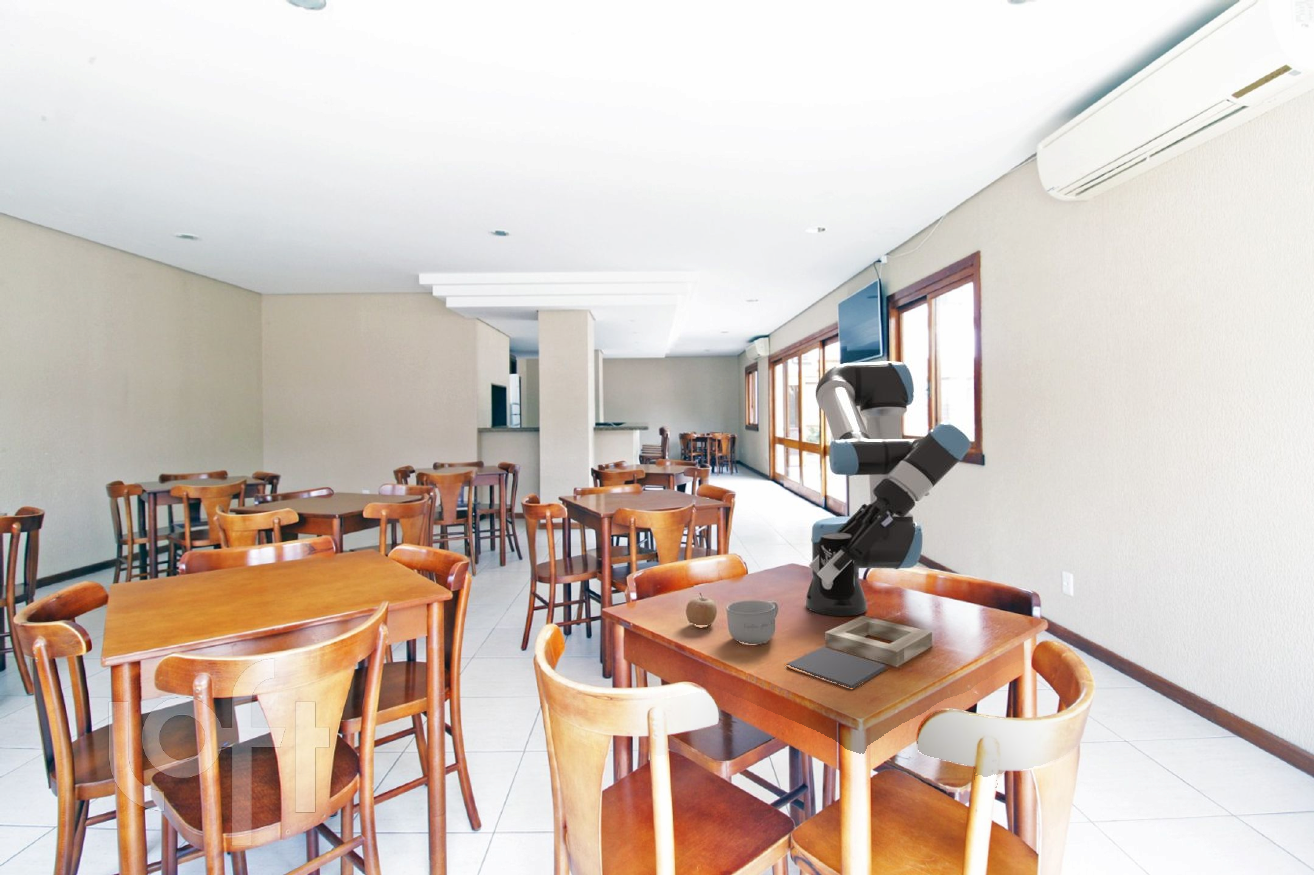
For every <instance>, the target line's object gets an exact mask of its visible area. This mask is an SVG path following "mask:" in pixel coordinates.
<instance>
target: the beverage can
mask: <svg viewBox="0 0 1314 875" xmlns="http://www.w3.org/2000/svg"><path fill="white" fill-rule="evenodd" d="M851 540H852V539H851V535H850V534H846V533H823V534H821V539H820V541H819V571H820V570H821V569H822V568H823V567H824V566H825V565H826V564H827V563H828V562H829V561H830V560H831V559H832V558H833V557H834V556H835V555H836V554H837V553H838V552H839V551H840V550H842V549H841V546H845V547H846V546H847V545H848V543H849V542H850V541H851ZM842 551H843V550H842ZM843 552H844V551H843ZM851 560H852V559H851ZM819 589H820V593H821V594H822V596H823V597H825V598H828V599H832V600H847V599H850V598H852V596H853V595H854V594H855V582H854V560H852V561H851V562H850V563H849V564H848V565H847V566H846V567H845V568H844V569H843V570H842V571H841V572H840V573H839V574H838V575H837V576H836V577H835V578H834V579H833V580H832V581H831V582H830V583H829V584H827V583H825V582H824V581H823V580H822V579H821V578H820V577H819Z"/></svg>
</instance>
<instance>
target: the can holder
mask: <svg viewBox="0 0 1314 875" xmlns="http://www.w3.org/2000/svg"><path fill="white" fill-rule="evenodd" d="M867 636H871V637H874V638H875V637H876V638H879V639H883V640H887V641H892V642H890V643H887V642H883V641H880V640H877V639H876V640H875V639H873V638H869V637H867ZM825 645H826V646H828V647H827V648H830V647H832V648H831V649H833V648H836V649H835V650H837V649H838V650H837V651H840V650H842V651H841V652H844V651H846V652H845V653H847V652H848V653H847V654H851V653H852V654H851V655H854V654H855V655H854V656H857V657H860V658H864V657H865V658H864V659H867V660H871V661H874V662H878V661H879V662H878V663H881V664H884V665H890V666H892V665H893V667H896V668H897V667H899V666H901V665H903V664H904V663H906V662H908V661H909V660H911V659H913V658H915V657H916V656H918V655H919V654H921V653H923V652H925V651H926V650H927V649H930V648H931V647H933V632H932V631H929V630H926V629H921V628H916V627H913V626H908V625H904V624H900V623H897V622H896V623H895V622H892V621H891V622H890V621H887V620H883V619H878V618H874V617H871V616H865V615H860V616H858V617H856V618H853V620H849V621H847V622H845V623H843V624H840V625H838V626H836V627H834V628H831V629H830V630H826V631H825V632H824V646H825ZM826 646H825V647H826Z"/></svg>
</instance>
